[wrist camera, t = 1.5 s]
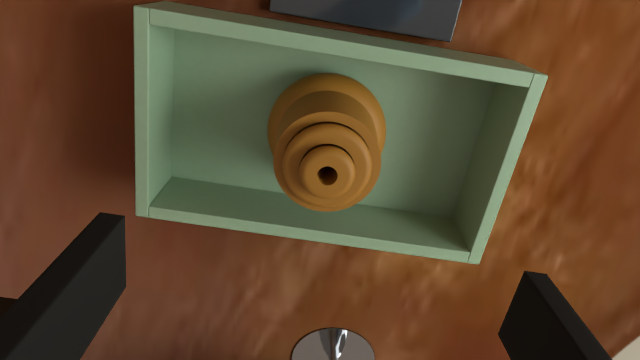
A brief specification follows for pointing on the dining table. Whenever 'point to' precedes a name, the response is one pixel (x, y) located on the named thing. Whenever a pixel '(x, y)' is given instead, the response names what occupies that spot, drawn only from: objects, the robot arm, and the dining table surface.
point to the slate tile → (381, 14)
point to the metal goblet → (333, 346)
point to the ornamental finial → (326, 141)
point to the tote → (252, 140)
